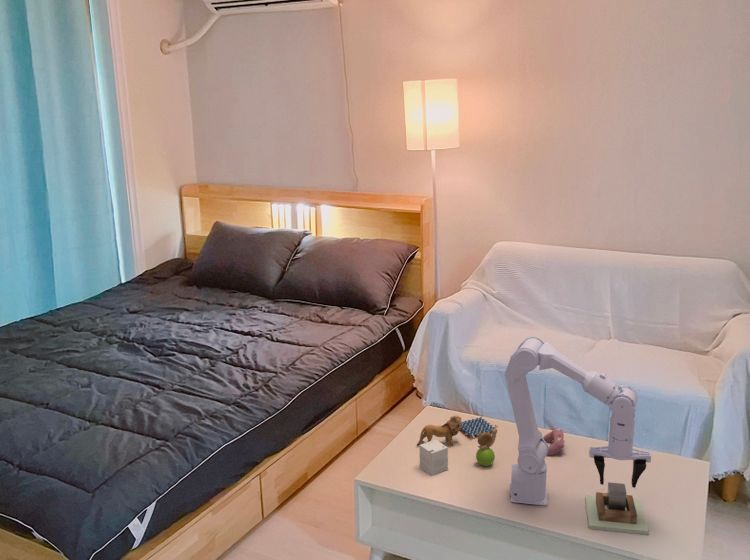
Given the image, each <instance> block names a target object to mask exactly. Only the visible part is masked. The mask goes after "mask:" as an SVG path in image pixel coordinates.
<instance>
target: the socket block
mask: <svg viewBox="0 0 750 560" xmlns="http://www.w3.org/2000/svg"><path fill="white" fill-rule="evenodd" d="M607 493H608V492H601V491H600V492H598V491H596V492H595V495H594V494H586V493H585V496H584V499H585V509H586V516H587V524H588V526H587V527H588V529H589V530H599V531H607V532H608V531H609V532H616V533H625V534H626V533H627V534H637V535H645V536H649V527H648V524H647V520H646V515H645V512H644V509H643V504H642V501H641V499H637V498H634V497H633V494H632V495H629V494H626V504H625V511H621V510H611V509H607Z"/></svg>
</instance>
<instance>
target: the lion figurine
mask: <svg viewBox="0 0 750 560" xmlns="http://www.w3.org/2000/svg"><path fill="white" fill-rule="evenodd" d="M449 418H450V419H449V420H447V421H446V423H444V424H442V425H434V424H427V425H425V426H424V427H423V428H422V429H421V432H420V436H419V440H418V442H417V444H416V445H415V446H417V447H420V445H421V444H424V443H427V442H430V441H432V439H433V436H434V437H436V438H444V439H445V440H444V441H445V443H447V444H448V446H449V447H450V448H453V446H454V444H453V443H452V441H453V437H455V436H457V435H458V434H459V432H460V431H459V430H460V429H461V426H462V422H463V421H462V417H461V416H459V415H456V414H454V415H452V416H450V417H449ZM425 438H427V439H426V440H427V442H425V441H424V439H425Z"/></svg>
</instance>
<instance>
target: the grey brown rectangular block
mask: <svg viewBox="0 0 750 560" xmlns="http://www.w3.org/2000/svg"><path fill="white" fill-rule="evenodd" d="M606 493H607V509H611V510H621V511H625V504H626V495H627V488H626V485H625V483H620V482H619V483H618V482H607V492H606Z"/></svg>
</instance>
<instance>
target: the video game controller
mask: <svg viewBox="0 0 750 560" xmlns="http://www.w3.org/2000/svg"><path fill="white" fill-rule="evenodd" d="M564 436H565V434H564V430H562V429H560V428H557V427H556V428H554V429H552V431H550V432H547V433H546V434H545V435H544V436H543V439H544V440H545V442H546V443H549V442H552V444H551V445H548V447H549V452H548V454H547V456H553V455H555V454H557V453H558V452H559V451H561V450H562V449H564V448H565V439H564V438H565V437H564Z"/></svg>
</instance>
